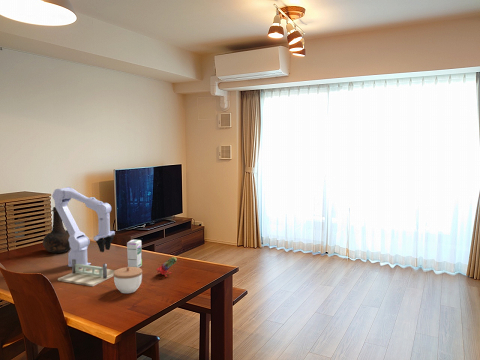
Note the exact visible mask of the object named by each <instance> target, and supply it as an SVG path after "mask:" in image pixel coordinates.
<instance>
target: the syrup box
mask: <svg viewBox="0 0 480 360" xmlns="http://www.w3.org/2000/svg"><path fill="white" fill-rule="evenodd" d="M142 247H143V246H142V240H141V239H131V240H129V241H128V242H126V249H127V251H126V253H127V267H138V268H140V267H142V266H143V252H142V251H143V250H142Z"/></svg>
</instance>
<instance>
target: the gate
mask: <svg viewBox="0 0 480 360" xmlns="http://www.w3.org/2000/svg"><path fill="white" fill-rule="evenodd" d="M79 267H82V268H83V271H82V270H80V268H79ZM82 268H81V269H82ZM86 268H88V269H92V272H88V271H86ZM95 270H99V273H95ZM75 273H80V274H86V275H92V276H99V277H102V276H103V266H95V265H91V264H90V265H84V264H75Z"/></svg>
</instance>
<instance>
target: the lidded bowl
mask: <svg viewBox="0 0 480 360" xmlns="http://www.w3.org/2000/svg"><path fill="white" fill-rule="evenodd" d="M114 270H115V271H114V273H113V274H114V276H113V281H114V286H115V287H116V289H117V290H118V291H119V292H120V293H121V294H133V293H135V292H136V291H137V290H138V288H139V287H140V286H141V284H142V281H143V280H142V279H143V269H142V268H140V267H139V268H138V267H128V266H125V267H120V268H117V269H114Z"/></svg>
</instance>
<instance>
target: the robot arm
mask: <svg viewBox="0 0 480 360" xmlns="http://www.w3.org/2000/svg"><path fill="white" fill-rule="evenodd" d="M51 197H52V199H53V202H54V207H56V209H57V211H58V213H59V215H60V217H61V219H62V223H63V226H64V228H65V230H67V231H68V233H69V235H70V237H69V239H68V241H69V243H70V248H71V249H70V250H68V253H67V256H68V258H67V259H68V261H67V262H68V265H67V267H69V268H70V267H71V268H72V259H76V264H84V265H90V266H91V264H92V263H91V262H88V247H89V245H90V238H89V237H88V236H87V235H86V234H85V232H83V231H81V230H80V228H79V226H78V224H77V222H76V220H75V218H74V216H73V214H72V213H71V210H70V209H69V205H68V204H69V203H70V201H71V199H73V200H76V201H79V202H81V203H83V204H84V205H85V207H86V208H89V209H90V210H92V211H95V212H96V214H97V219H98V234H96V235H94V236H93V241H95V243H96V244H97V247H98V250H99V252H100V253H104V252H105V250H106V251H107V250H108V251H110V249H111V245H112V242H113V241H114V236H115V235H116V234H115V233H116V231H114V230H111V224H110V223H111V220H110V219H111V217H110V215H111V214H110V213H111V211H112V206H111V204H109V203H108V202H103V201H101V200H99V199H96V197H94V196H93V197H92V196H91V197H88V196H86V195H84V194H82V193H80V192H79V191H77V190H76V189H75V188H72V187H71V186H66V187H61V188H55V189H54V190H53V193H52V196H51ZM79 269H82V267H79Z"/></svg>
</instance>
